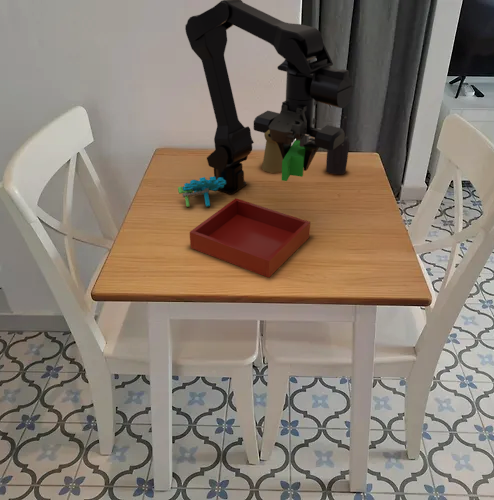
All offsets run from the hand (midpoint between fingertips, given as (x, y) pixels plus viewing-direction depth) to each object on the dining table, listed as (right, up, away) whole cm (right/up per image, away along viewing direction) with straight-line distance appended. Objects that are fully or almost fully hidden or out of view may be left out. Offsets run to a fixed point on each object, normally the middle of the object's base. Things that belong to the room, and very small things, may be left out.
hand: (296, 167), depth 118 cm
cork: (-5, +3, +25) cm, 26 cm away
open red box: (-10, -16, -4) cm, 19 cm away
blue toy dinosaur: (-21, -6, +10) cm, 24 cm away
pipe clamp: (0, -1, +1) cm, 1 cm away
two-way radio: (+11, +2, +23) cm, 26 cm away
